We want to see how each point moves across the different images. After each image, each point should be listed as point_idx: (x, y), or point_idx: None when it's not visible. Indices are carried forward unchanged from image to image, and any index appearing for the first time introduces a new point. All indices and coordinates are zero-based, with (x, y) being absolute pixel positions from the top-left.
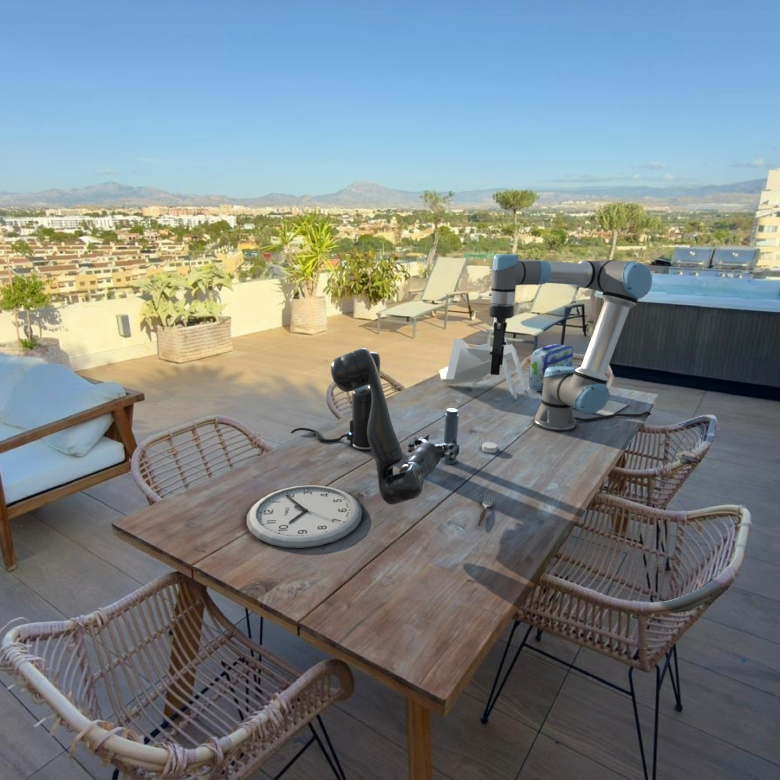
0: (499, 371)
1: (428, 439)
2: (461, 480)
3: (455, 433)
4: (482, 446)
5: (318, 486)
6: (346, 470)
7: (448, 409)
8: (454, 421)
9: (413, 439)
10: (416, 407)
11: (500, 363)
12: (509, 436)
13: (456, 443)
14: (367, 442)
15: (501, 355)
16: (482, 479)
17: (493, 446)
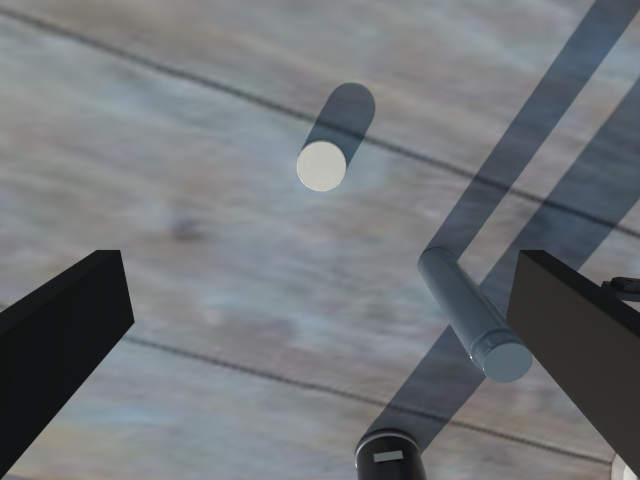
0: (557, 264)
1: None
2: (547, 217)
3: (486, 295)
4: (329, 188)
5: (635, 475)
6: (525, 449)
7: (502, 377)
8: None
9: None
10: (66, 410)
11: (116, 274)
12: (176, 105)
13: (625, 281)
14: (421, 461)
15: (57, 319)
16: (535, 163)
17: (329, 153)
